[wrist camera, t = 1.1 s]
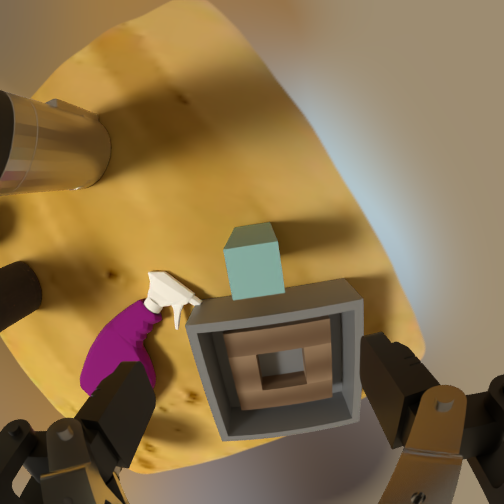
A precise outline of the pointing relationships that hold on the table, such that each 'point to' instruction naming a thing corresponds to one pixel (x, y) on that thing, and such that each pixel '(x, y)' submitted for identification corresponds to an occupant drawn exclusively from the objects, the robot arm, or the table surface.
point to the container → (17, 293)
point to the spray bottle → (134, 330)
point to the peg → (253, 262)
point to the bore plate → (283, 385)
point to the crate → (280, 358)
